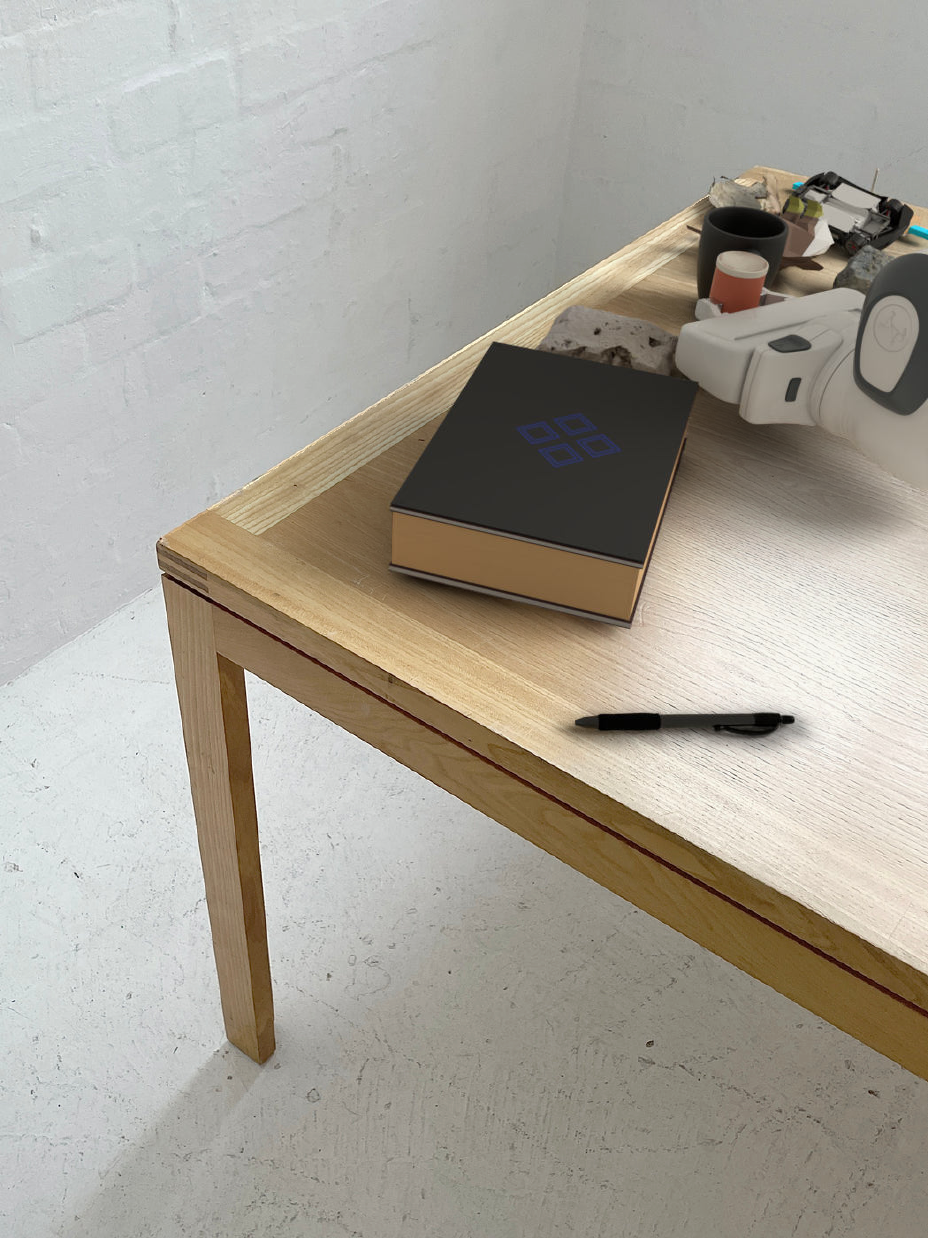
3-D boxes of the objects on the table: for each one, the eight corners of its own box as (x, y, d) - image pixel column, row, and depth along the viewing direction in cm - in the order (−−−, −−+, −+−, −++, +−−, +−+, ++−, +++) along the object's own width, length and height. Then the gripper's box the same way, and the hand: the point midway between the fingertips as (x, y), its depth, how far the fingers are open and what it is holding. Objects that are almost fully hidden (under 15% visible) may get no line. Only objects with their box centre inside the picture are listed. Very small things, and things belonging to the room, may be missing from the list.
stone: (682, 406, 100) (674, 357, 108) (688, 345, 96) (679, 299, 104) (533, 406, 101) (535, 358, 109) (532, 346, 97) (535, 300, 105)
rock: (872, 342, 114) (893, 297, 110) (806, 291, 119) (824, 247, 116) (952, 324, 119) (975, 281, 116) (886, 277, 125) (906, 234, 122)
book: (387, 579, 80) (389, 502, 76) (486, 410, 98) (492, 340, 94) (628, 638, 77) (644, 561, 72) (684, 451, 95) (699, 381, 91)
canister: (738, 354, 107) (763, 252, 101) (746, 377, 104) (773, 273, 97) (691, 351, 107) (713, 248, 101) (698, 374, 104) (721, 270, 97)
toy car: (922, 209, 125) (921, 239, 129) (815, 163, 134) (817, 192, 137) (877, 252, 125) (877, 280, 128) (772, 203, 133) (775, 230, 136)
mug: (689, 345, 110) (709, 250, 103) (683, 291, 119) (701, 201, 112) (774, 353, 109) (799, 259, 103) (762, 299, 118) (784, 209, 112)
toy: (886, 292, 122) (906, 228, 117) (763, 312, 116) (780, 246, 112) (796, 234, 132) (812, 174, 128) (680, 251, 127) (692, 188, 122)
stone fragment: (690, 240, 130) (705, 277, 132) (760, 216, 125) (775, 255, 128) (717, 163, 142) (731, 199, 144) (782, 139, 137) (795, 176, 140)
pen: (800, 730, 70) (795, 739, 71) (794, 707, 71) (788, 716, 72) (579, 733, 69) (576, 742, 69) (575, 709, 70) (572, 719, 70)
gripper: (934, 311, 96) (819, 248, 104) (752, 358, 87) (643, 285, 96) (910, 377, 100) (801, 312, 108) (734, 428, 91) (631, 353, 100)
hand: (726, 299), depth 102 cm, fingers closed on canister, 4 cm apart
